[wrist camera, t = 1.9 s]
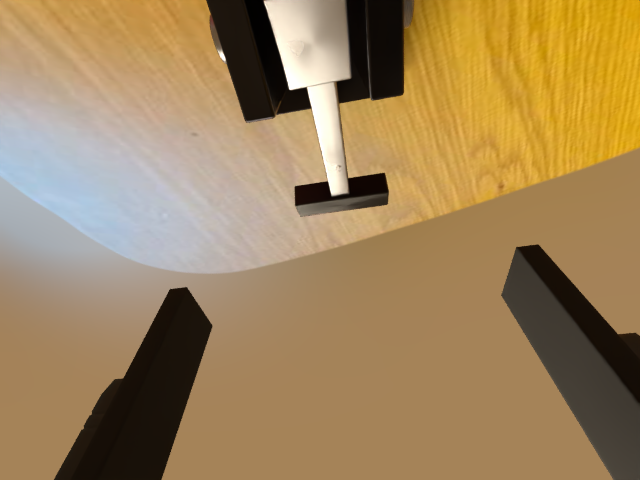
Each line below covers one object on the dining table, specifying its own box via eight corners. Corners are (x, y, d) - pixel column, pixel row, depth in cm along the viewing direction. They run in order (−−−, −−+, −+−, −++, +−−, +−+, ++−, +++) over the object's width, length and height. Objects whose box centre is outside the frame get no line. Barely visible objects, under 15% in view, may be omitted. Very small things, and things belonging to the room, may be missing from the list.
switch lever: (383, 179, 19) (389, 212, 18) (299, 192, 20) (300, 224, 19) (397, -81, 8) (414, -37, 7) (209, -35, 9) (200, 12, 8)
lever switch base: (391, 88, 22) (460, 182, 11) (272, 110, 23) (224, 216, 12) (385, -147, 15) (559, -550, 4) (217, -101, 16) (-19, -318, 5)
